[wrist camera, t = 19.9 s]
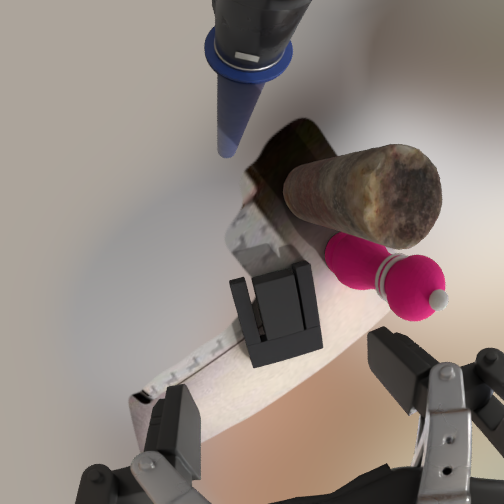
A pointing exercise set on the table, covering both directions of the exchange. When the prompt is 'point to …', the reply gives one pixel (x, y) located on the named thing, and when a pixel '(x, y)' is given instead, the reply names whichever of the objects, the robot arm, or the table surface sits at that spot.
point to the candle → (369, 194)
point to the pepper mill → (388, 275)
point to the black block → (278, 303)
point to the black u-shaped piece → (286, 345)
